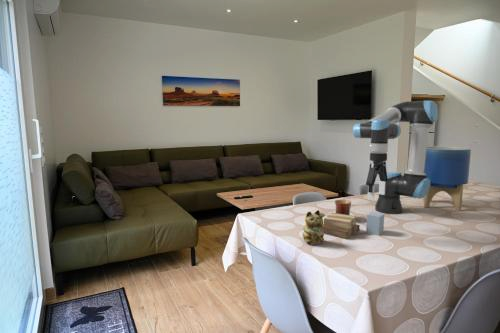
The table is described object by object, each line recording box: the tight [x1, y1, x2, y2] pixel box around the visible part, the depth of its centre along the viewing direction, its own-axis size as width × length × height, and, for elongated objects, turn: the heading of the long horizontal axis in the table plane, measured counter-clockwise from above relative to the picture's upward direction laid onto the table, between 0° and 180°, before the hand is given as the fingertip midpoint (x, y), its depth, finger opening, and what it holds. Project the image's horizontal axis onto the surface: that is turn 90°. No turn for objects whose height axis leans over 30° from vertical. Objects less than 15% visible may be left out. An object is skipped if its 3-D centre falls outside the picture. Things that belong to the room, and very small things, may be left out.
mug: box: [334, 199, 352, 215], centre depth 180 cm, size 12×9×10 cm
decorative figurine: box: [302, 209, 326, 246], centre depth 146 cm, size 10×8×15 cm
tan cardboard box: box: [320, 223, 361, 240], centre depth 159 cm, size 14×14×4 cm
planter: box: [422, 145, 472, 212], centre depth 205 cm, size 26×26×37 cm
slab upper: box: [323, 212, 357, 231], centre depth 159 cm, size 12×12×4 cm
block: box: [365, 211, 385, 236], centre depth 158 cm, size 6×6×9 cm
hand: (376, 196), depth 157 cm, fingers open, 13 cm apart
